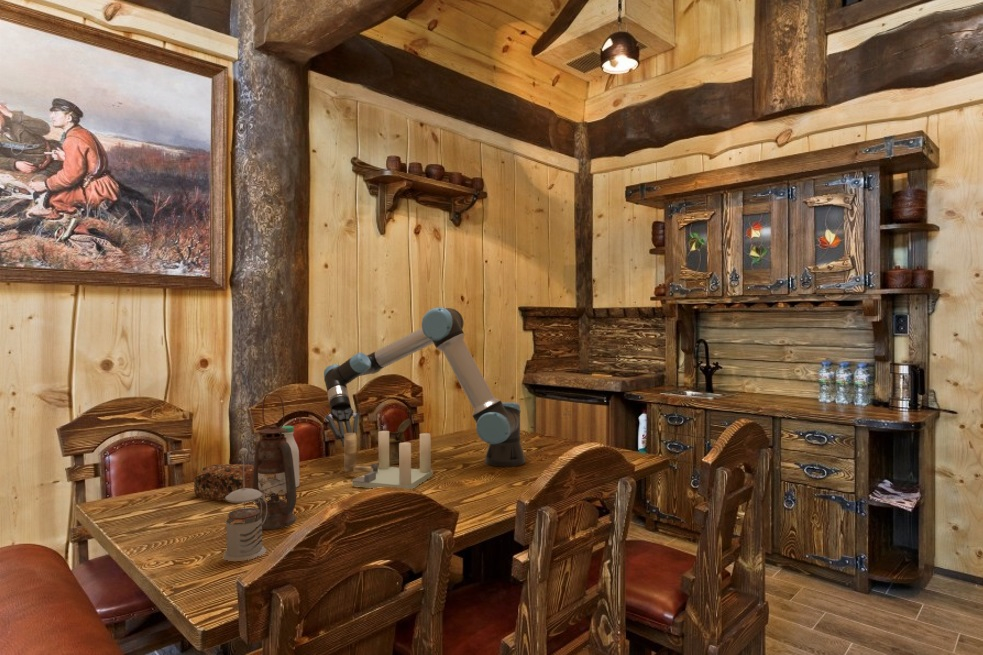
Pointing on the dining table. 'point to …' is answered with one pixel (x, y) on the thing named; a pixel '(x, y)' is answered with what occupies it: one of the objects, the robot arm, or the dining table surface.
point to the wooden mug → (397, 441)
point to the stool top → (404, 473)
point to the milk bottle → (295, 453)
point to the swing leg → (354, 456)
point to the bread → (222, 480)
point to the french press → (244, 525)
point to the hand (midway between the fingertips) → (350, 453)
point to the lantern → (274, 460)
